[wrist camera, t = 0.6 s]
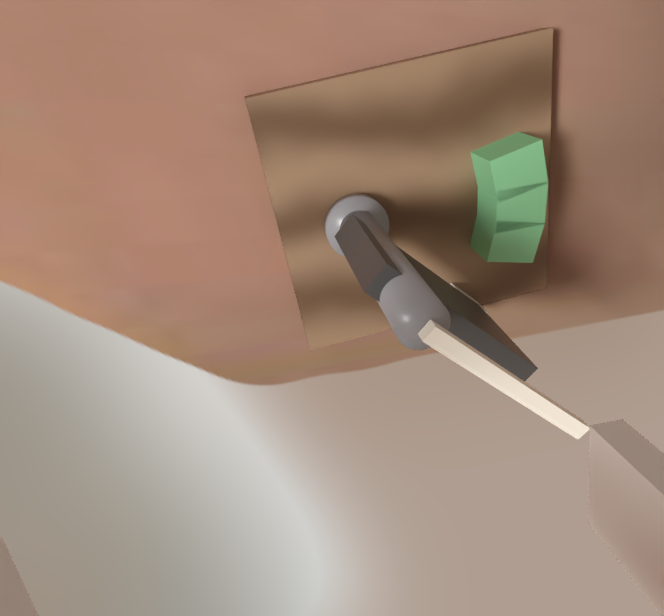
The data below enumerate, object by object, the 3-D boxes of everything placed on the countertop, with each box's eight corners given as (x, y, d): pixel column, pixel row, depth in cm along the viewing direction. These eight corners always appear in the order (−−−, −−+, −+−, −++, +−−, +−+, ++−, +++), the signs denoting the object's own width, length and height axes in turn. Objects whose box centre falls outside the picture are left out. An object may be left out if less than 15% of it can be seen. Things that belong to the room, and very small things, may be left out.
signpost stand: (311, 232, 35) (361, 348, 22) (350, 180, 34) (426, 271, 21) (450, 325, 41) (554, 461, 28) (487, 284, 40) (614, 405, 27)
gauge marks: (476, 126, 34) (497, 133, 32) (547, 135, 36) (572, 143, 33) (430, 310, 41) (444, 329, 38) (492, 312, 42) (509, 331, 39)
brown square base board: (244, 96, 32) (245, 98, 31) (543, 27, 33) (553, 27, 32) (308, 342, 41) (310, 350, 40) (539, 281, 43) (546, 287, 42)
